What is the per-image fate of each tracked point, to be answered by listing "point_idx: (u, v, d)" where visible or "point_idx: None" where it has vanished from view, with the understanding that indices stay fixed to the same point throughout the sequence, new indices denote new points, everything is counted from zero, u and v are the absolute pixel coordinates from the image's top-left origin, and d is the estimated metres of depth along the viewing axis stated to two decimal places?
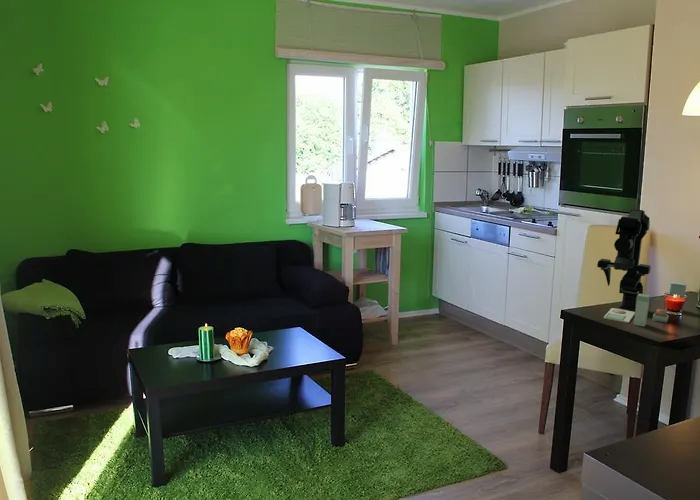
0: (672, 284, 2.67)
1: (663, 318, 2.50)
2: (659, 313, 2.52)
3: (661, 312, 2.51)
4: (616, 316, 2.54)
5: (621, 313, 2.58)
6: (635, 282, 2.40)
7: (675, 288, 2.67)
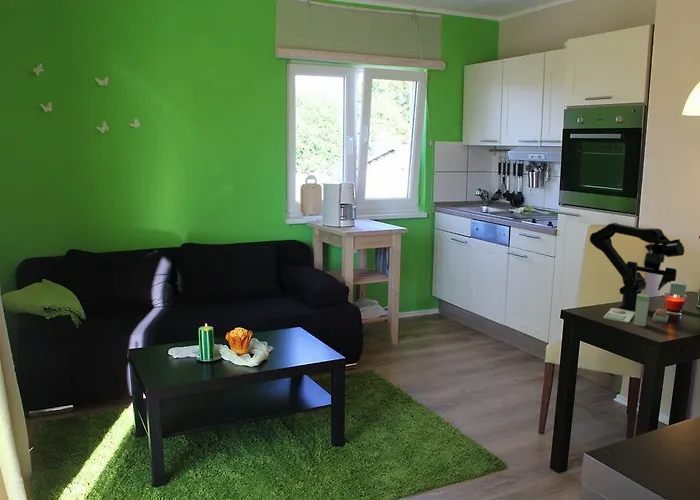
0: (672, 284, 2.67)
1: (663, 318, 2.50)
2: (659, 313, 2.52)
3: (661, 312, 2.51)
4: (616, 316, 2.54)
5: (621, 313, 2.58)
6: (661, 282, 2.48)
7: (675, 288, 2.67)
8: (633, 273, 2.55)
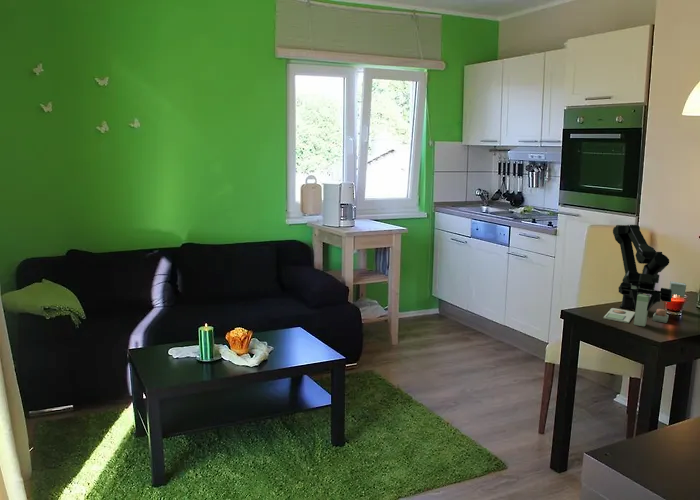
0: (672, 284, 2.67)
1: (663, 318, 2.50)
2: (659, 313, 2.52)
3: (661, 312, 2.51)
4: (616, 316, 2.54)
5: (621, 313, 2.58)
6: (650, 302, 2.43)
7: (675, 288, 2.67)
8: (634, 295, 2.47)
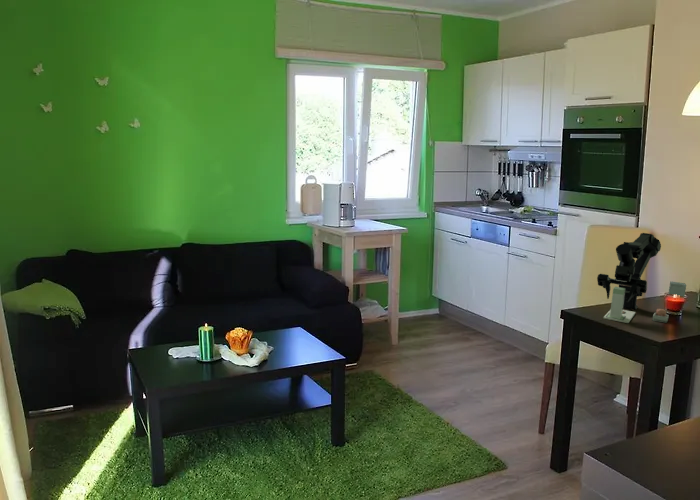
0: (672, 284, 2.67)
1: (663, 318, 2.50)
2: (659, 313, 2.52)
3: (661, 312, 2.51)
4: None
5: None
6: (630, 294, 2.49)
7: (675, 288, 2.67)
8: (607, 286, 2.55)
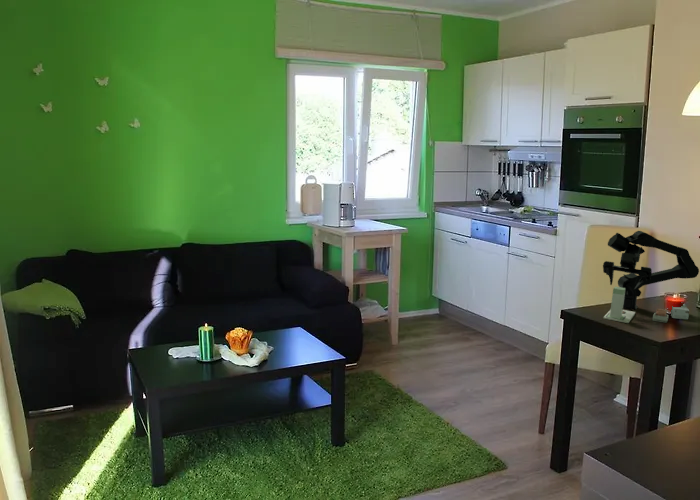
0: (673, 317, 2.57)
1: (663, 318, 2.50)
2: (659, 313, 2.52)
3: (661, 312, 2.51)
4: None
5: None
6: (637, 281, 2.56)
7: None
8: (610, 272, 2.62)
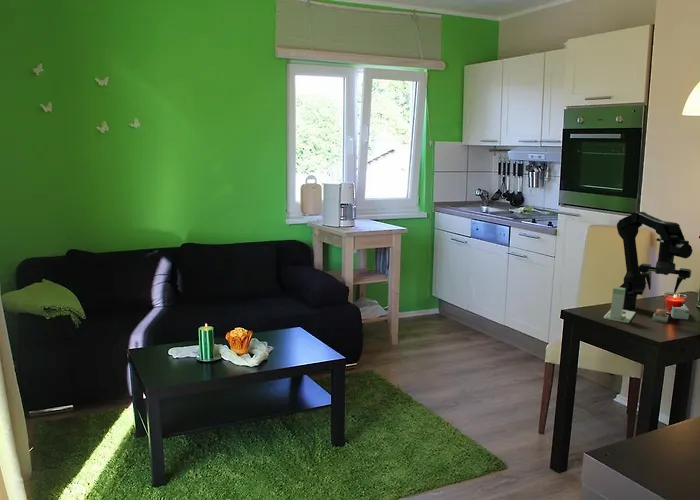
0: (673, 317, 2.57)
1: (663, 318, 2.50)
2: (659, 313, 2.52)
3: (661, 312, 2.51)
4: None
5: None
6: (676, 286, 2.47)
7: None
8: (647, 278, 2.52)
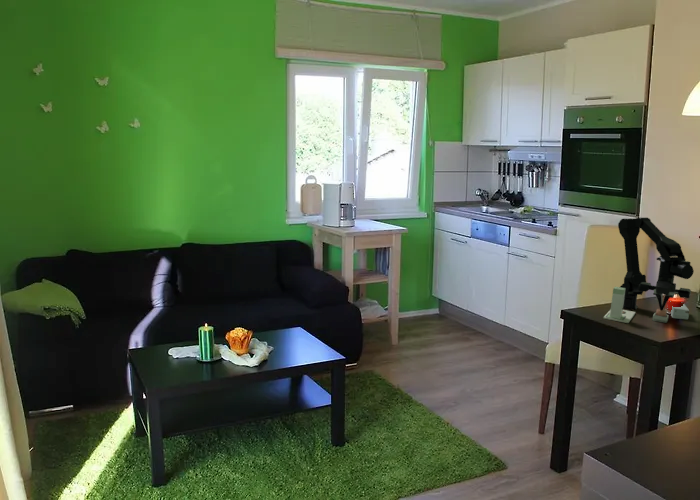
0: (673, 317, 2.57)
1: (663, 318, 2.50)
2: (659, 313, 2.52)
3: (661, 312, 2.51)
4: None
5: None
6: (664, 303, 2.51)
7: None
8: (658, 298, 2.51)
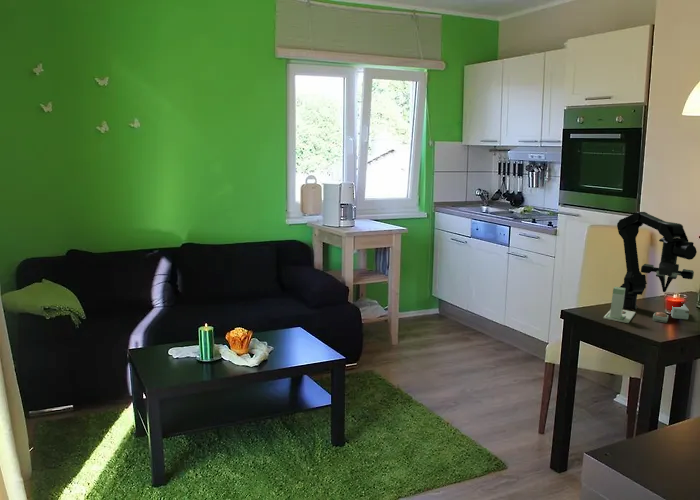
0: (673, 317, 2.57)
1: (663, 318, 2.50)
2: None
3: (661, 315, 2.51)
4: None
5: None
6: (666, 285, 2.49)
7: None
8: (661, 280, 2.50)
